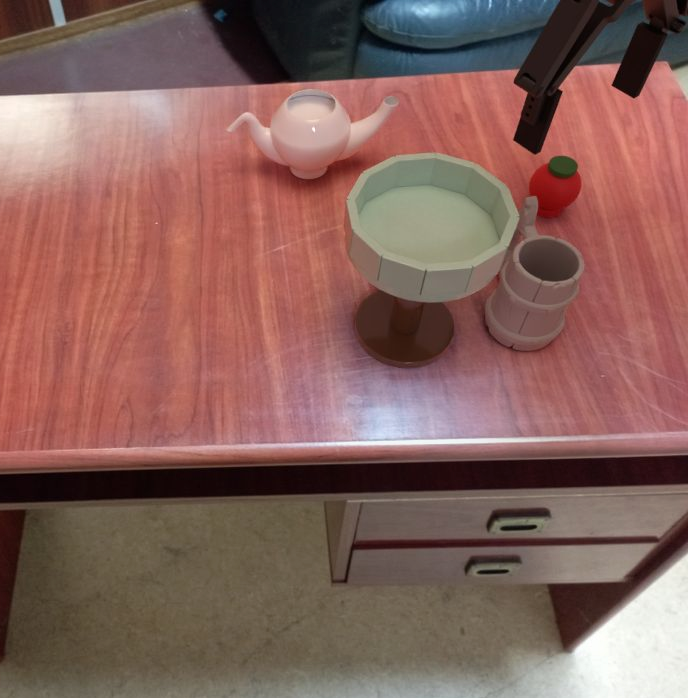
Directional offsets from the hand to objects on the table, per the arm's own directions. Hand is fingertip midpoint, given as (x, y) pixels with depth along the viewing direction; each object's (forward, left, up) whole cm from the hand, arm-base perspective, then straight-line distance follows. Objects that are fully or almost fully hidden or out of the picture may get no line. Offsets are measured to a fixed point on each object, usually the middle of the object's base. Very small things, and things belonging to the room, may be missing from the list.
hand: (577, 118), depth 70 cm
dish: (-2, +21, -15) cm, 26 cm away
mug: (-7, +10, -15) cm, 20 cm away
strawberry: (+2, -4, -15) cm, 16 cm away
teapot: (+24, +14, -15) cm, 32 cm away
